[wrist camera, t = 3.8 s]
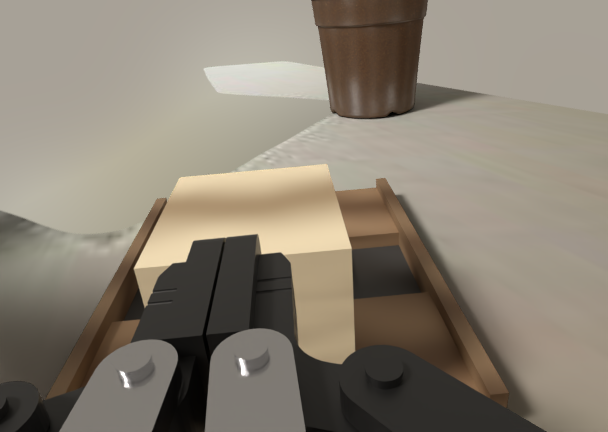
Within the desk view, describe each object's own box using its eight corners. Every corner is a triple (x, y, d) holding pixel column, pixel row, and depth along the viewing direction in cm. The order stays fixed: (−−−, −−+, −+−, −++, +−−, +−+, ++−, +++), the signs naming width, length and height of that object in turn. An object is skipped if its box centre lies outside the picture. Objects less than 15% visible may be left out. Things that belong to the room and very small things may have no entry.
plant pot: (303, 124, 64) (293, -7, 56) (327, 97, 78) (321, -11, 70) (426, 123, 59) (432, -18, 52) (428, 95, 73) (433, -20, 66)
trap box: (503, 428, 19) (509, 393, 18) (38, 474, 19) (21, 441, 18) (385, 199, 40) (385, 177, 39) (162, 220, 40) (157, 198, 39)
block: (357, 422, 19) (351, 248, 15) (181, 439, 18) (133, 268, 15) (334, 301, 26) (327, 164, 22) (207, 312, 26) (179, 177, 22)
